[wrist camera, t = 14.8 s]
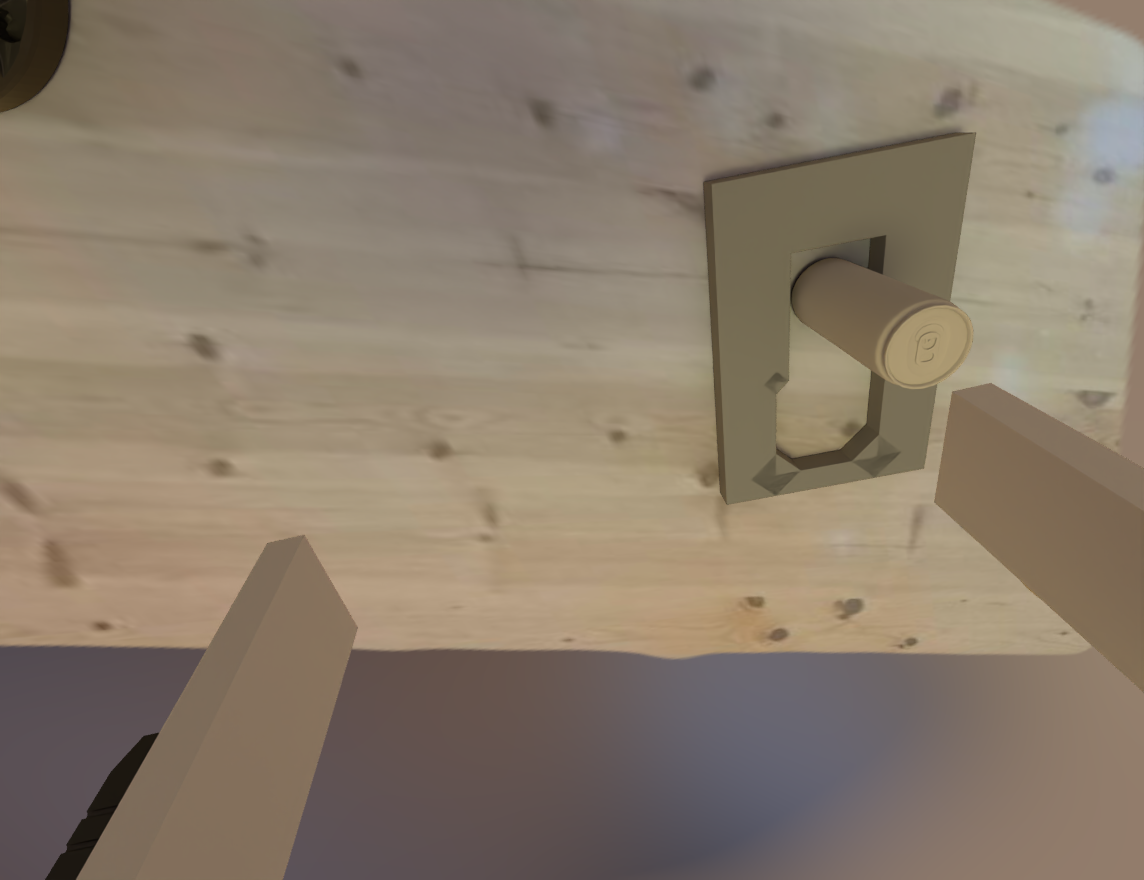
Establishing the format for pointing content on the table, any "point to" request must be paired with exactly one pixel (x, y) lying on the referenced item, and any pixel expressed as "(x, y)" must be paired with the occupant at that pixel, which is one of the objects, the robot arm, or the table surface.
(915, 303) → the beverage can
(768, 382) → the flat rectangular frame
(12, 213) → the table surface
